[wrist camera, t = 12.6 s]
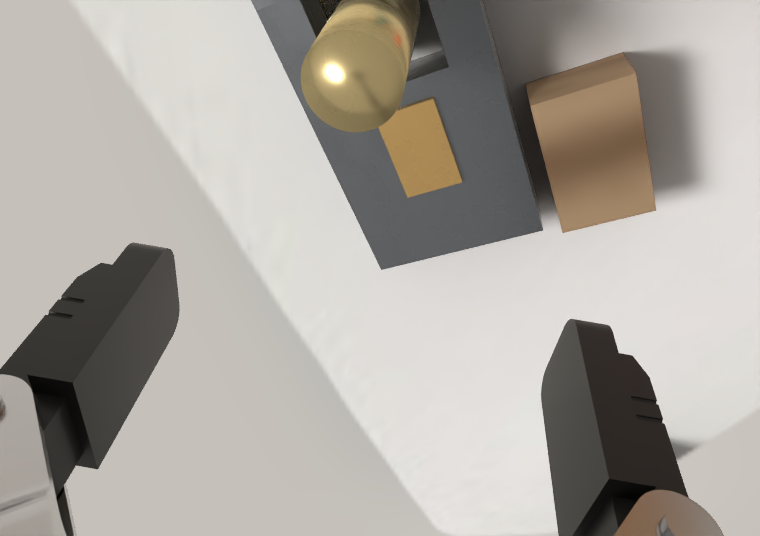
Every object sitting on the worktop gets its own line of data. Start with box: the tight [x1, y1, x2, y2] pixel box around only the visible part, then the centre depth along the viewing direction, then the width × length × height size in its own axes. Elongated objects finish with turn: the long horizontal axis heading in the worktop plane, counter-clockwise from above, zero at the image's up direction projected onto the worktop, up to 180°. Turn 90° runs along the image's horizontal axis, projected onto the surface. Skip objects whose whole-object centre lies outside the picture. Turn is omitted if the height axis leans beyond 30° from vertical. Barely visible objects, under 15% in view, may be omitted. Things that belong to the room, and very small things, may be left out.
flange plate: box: [251, 0, 543, 270], centre depth 32 cm, size 19×10×3 cm, turn 22°
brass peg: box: [301, 0, 420, 132], centre depth 27 cm, size 4×4×10 cm
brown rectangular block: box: [526, 53, 656, 233], centre depth 32 cm, size 8×5×3 cm, turn 22°
